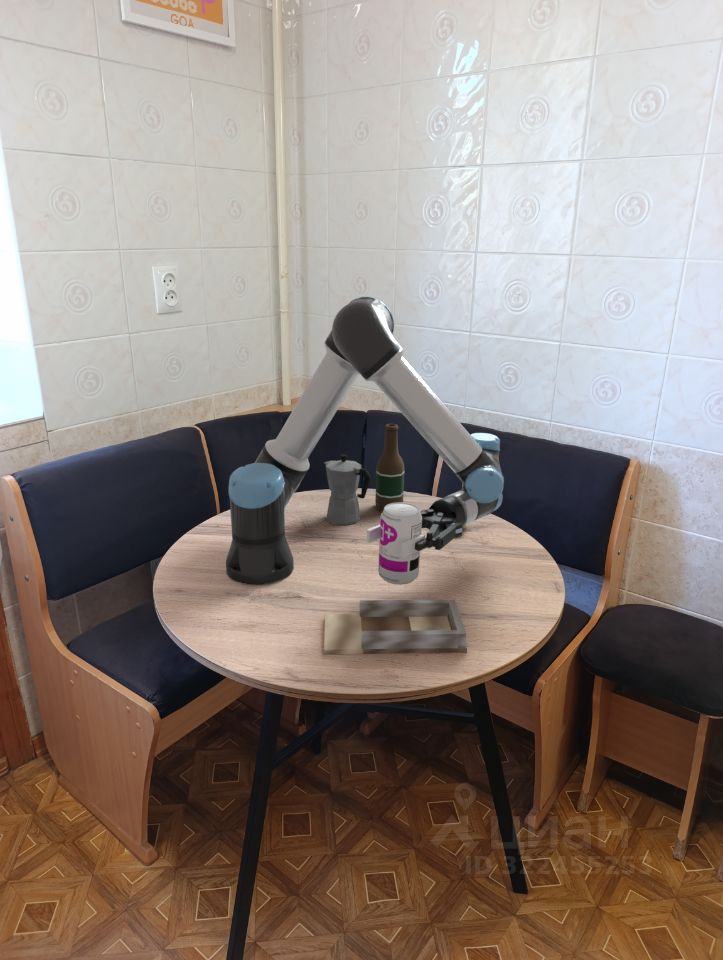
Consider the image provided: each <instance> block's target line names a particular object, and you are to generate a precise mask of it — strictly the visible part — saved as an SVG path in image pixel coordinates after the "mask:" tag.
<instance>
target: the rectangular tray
mask: <svg viewBox="0 0 723 960" xmlns="http://www.w3.org/2000/svg"><path fill="white" fill-rule="evenodd" d="M323 638H324V639H323V654H324V655H366V654H367V655H369V654H370V655H374V654H376V655H377V654H378V655H379V654H380V655H381V654H384V655H385V654H389V655H391V654H454V653H455V654H458V653H460V654H461V653H464V654H465V653H466V654H467V653H468V645H467V642H466V641H467V632H466V628H465V626H464V623H463V620H462V617H461V614H460V610H459V608H458V605H457V601H456V599H386V600H385V599H381V600H378V599H375V600H373V599H372V600H371V599H369V600H366V599H364V600H359V613H325V614H324V637H323Z"/></svg>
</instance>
